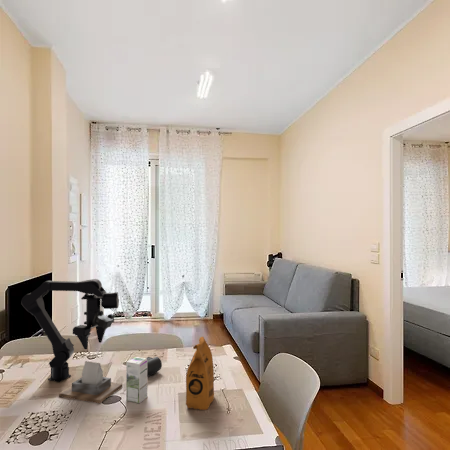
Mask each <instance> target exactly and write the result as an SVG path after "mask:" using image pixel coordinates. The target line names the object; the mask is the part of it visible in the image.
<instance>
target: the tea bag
mask: <svg viewBox="0 0 450 450" xmlns="http://www.w3.org/2000/svg"><path fill="white" fill-rule="evenodd" d="M103 375H104V371H103V369H102V365H101V362H96V361H95V362H94V361H87V360H86V361H84V365H83V369H82V372H81V378H82V383H84V384H90V385H98V384H99V383H101V382H103V377H104V376H103Z"/></svg>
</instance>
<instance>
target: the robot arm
mask: <svg viewBox="0 0 450 450" xmlns="http://www.w3.org/2000/svg"><path fill="white" fill-rule="evenodd" d="M52 291H54V292H79V293H82V294H84V295H83V296H82V297H81V298H80V299H81V300H86V309H85V310H86V311H84V312H83V314H84V316H85V317H86V319H85V321H83V324H79V325H76V326H74V327H73V328H72V335H74V336H76V337H77V338H78V340H79V341H80V343H81V346H82V347H83V349H84V350H87V349H88V346H89V345H88V344H89V337H90V336H91V334H92V333H91V331H92V329H94V328H95V331H96V337H97V341H98V343H102V341H103V339H104V335H105V333H106V330H107V329H108V328H111V326H112V324H113V323H114V322H115V316H114V314H112V313H109V314H108V315H107V314H106V315H105V314H104V311H103V310H101V307H102V308H103V309H105V310H108V309H112V310H113V309H119V305H120V299H119V293H118V292H107V291H106V290H105V289H104V288H103V285H102V282H101V281H100V279H98V278H93V279H86V280H81V281H70V280H69V281H68V280H63V281H61V280H58V281H57V280H50V279H49V280H46V281H44V282H42V284H40V286H38V287H36V289H35V290H33V291H32V292H30V293H27V294H25V295H24V296H22V298H21V300H20V302H21V303H20V304H21V305H22V307H23V308H24V309H25V310H26V311H27V312H28V313H30V314H31V315H32V316H34V317H35V320H36V321H37V323H38V324H39V326H40V328H41V329H42V331H43V332H44V334H45V336H46V337H47V339H48V341H50V343H51V349H52V352H53V355H54V357H53V358H52V359H51V360H50V361H49V363H48V365H49V368H50V377H49V378H47V381H52V382H56V383H60V382H63V381H64V380H65V381H66V379H68V378H70V377H72V375H71V374H70V367H69V362H68V360H70V358H71V357H72V355H73V354H74V351H75V347H74V345H75V344H74V343H73V342H72V341H71V338H70V337H68V338H67V339H66V338H65V337H63V336H62V334H61V333H60V331H59V330H58V328H57V326H56V324H55V323H54V322H53V320H52V318H51V317H50V315H49V314H48V311H46V309H45V302H44V299H43V298H44V297H45V295H47V294H48V293H49V292H52Z"/></svg>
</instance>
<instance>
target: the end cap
mask: <svg viewBox="0 0 450 450" xmlns="http://www.w3.org/2000/svg"><path fill="white" fill-rule="evenodd" d="M146 358H147V378H148V377H150V376H152V375H154V374H156V373H158V372H159V371H161V369H162V368H163V367H162V366H163V364H162V359H161V358H160V357H158V356H154V357H150V356H147V357H146Z"/></svg>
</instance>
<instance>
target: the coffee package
mask: <svg viewBox="0 0 450 450" xmlns="http://www.w3.org/2000/svg"><path fill="white" fill-rule="evenodd" d="M192 349H193V350H195V352H194V353H193V355H192V358H191V360H190V362H189V365H188V368H187V371H186V376H185V388H186V389H185V393H186V394H185V395H186V396H185V405H186V407H187V408H188V409H194V410H199V411H202V410H203V411H206V410H209V407H210V405H211V404H212V403H213V401H214V398H215V388H214V386H215V384H214V382H215V374H214V373H215V370H214V359H213V353H212V351H211V348H210V346H209V345H208V342H207V341H206V339H205V337H204V336H201V337H199V339H198V343H197V344H194V346H193V347H192Z"/></svg>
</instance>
